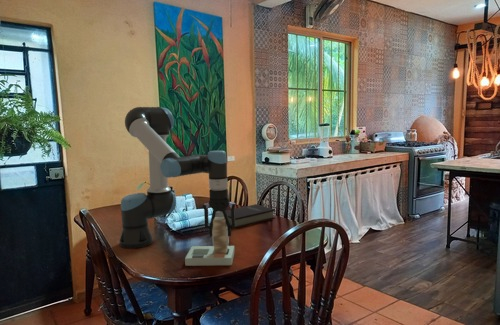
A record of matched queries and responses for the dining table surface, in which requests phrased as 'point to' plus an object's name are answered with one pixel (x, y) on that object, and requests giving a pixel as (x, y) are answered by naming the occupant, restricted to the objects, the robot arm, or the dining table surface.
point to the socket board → (208, 256)
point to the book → (251, 215)
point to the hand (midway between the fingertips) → (220, 243)
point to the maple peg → (220, 235)
